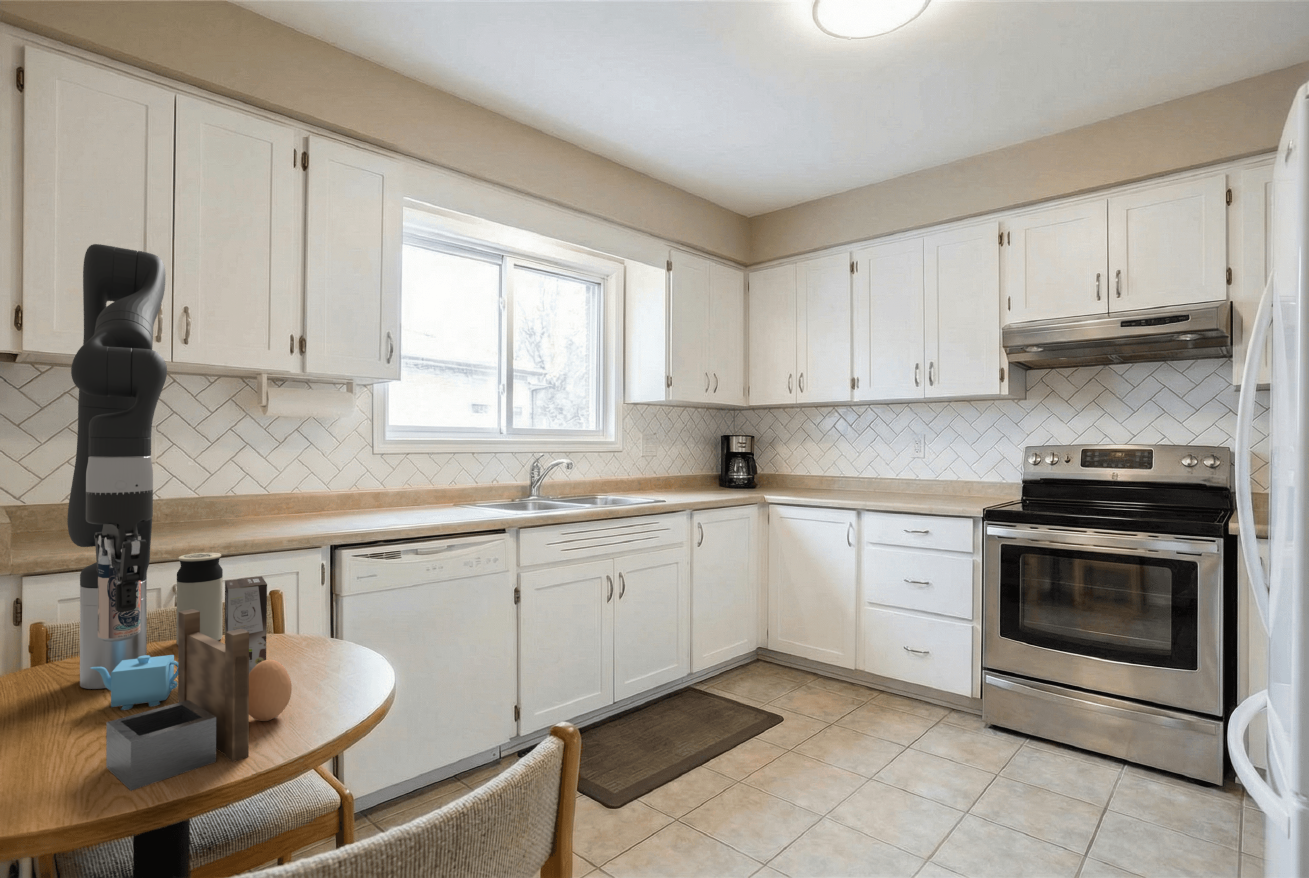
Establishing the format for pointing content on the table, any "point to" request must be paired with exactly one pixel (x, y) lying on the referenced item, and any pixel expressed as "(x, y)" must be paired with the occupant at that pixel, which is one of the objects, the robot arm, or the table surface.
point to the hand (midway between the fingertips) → (119, 606)
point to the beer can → (109, 619)
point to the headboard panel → (216, 681)
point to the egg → (268, 690)
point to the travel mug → (201, 591)
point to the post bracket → (160, 743)
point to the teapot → (140, 680)
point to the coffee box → (248, 613)
